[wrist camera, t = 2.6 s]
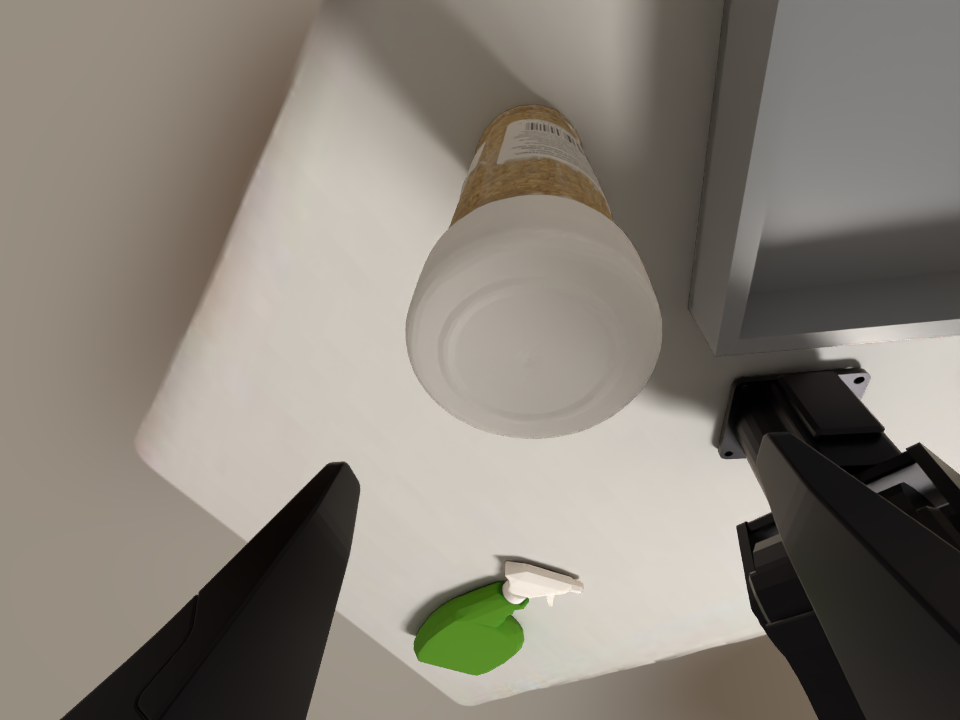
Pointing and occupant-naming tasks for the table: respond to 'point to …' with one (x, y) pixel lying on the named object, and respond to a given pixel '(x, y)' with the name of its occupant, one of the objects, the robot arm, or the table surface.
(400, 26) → the table surface
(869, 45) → the tote
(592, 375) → the sprinkles bottle
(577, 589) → the spray bottle
